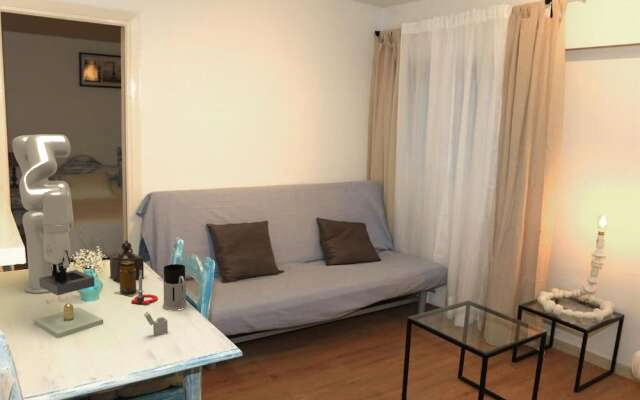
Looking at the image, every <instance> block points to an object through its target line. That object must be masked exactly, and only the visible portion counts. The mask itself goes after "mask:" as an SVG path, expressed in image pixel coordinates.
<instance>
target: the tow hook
mask: <svg viewBox="0 0 640 400" xmlns="http://www.w3.org/2000/svg"><path fill="white" fill-rule="evenodd" d="M138 290H139V291H138V294H137V295H135V297H134V298H133V299H131V301H130V302H131V304H136V305H144V306H149V305H150V304H151V303H155V302H157V301H158V300H159V299H158V298H159V297H158V296H157V295H155V294H143V291H144V290H143V279H142V270H140V276H139V280H138ZM145 298H150V299H145Z"/></svg>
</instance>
